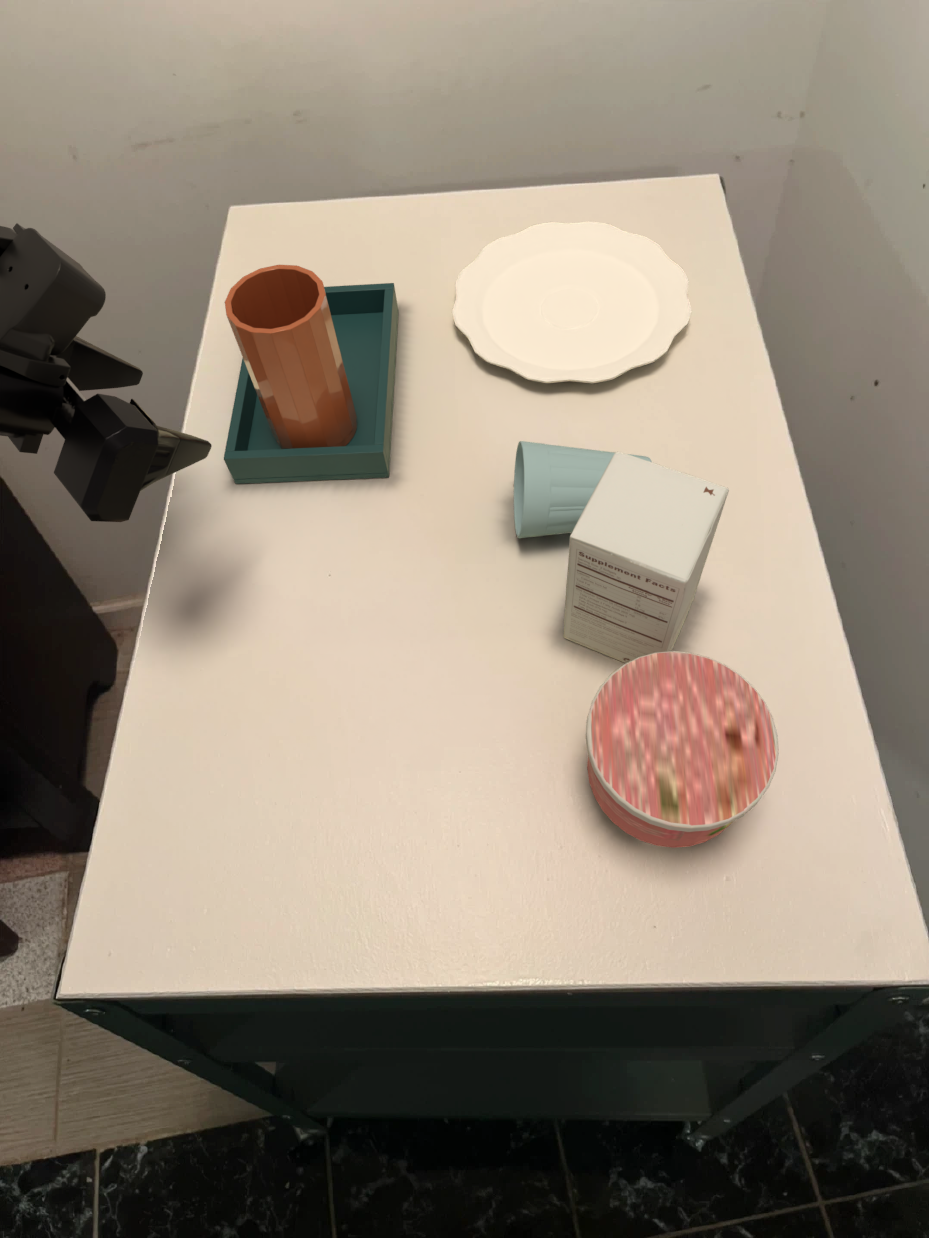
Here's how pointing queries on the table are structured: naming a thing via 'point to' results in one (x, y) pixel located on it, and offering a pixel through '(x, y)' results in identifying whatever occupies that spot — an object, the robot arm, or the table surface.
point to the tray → (370, 369)
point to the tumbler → (293, 356)
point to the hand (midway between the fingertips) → (173, 412)
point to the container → (678, 748)
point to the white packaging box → (638, 557)
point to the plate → (571, 302)
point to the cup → (554, 486)
